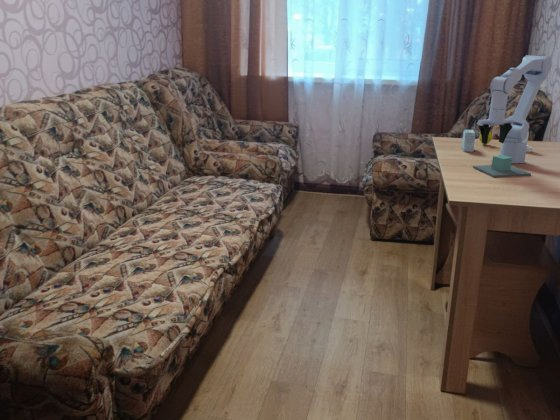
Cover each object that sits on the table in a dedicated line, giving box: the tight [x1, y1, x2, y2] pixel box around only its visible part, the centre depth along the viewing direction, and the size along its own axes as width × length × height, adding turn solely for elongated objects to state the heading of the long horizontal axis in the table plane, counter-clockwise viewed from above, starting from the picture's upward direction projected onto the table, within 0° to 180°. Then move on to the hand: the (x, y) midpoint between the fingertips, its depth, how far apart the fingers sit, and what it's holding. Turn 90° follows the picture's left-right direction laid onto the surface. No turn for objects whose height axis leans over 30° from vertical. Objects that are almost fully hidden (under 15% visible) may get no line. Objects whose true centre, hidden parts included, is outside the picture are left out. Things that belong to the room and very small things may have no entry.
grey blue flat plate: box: [472, 164, 532, 178], centre depth 209 cm, size 16×14×1 cm
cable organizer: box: [524, 131, 533, 153], centre depth 244 cm, size 5×10×10 cm, turn 90°
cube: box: [491, 154, 513, 172], centre depth 209 cm, size 5×5×5 cm
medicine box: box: [461, 129, 477, 153], centre depth 242 cm, size 8×4×9 cm, turn 168°
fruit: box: [478, 131, 493, 146], centre depth 253 cm, size 6×6×8 cm
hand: (492, 142), depth 213 cm, fingers open, 7 cm apart
